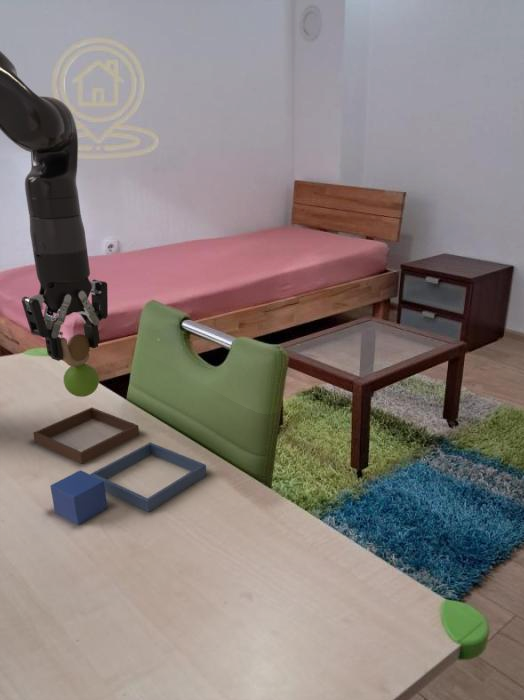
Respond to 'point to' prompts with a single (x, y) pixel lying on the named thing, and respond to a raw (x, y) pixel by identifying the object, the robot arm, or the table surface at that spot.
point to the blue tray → (163, 495)
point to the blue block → (79, 497)
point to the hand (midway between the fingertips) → (75, 352)
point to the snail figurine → (78, 366)
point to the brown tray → (81, 457)
